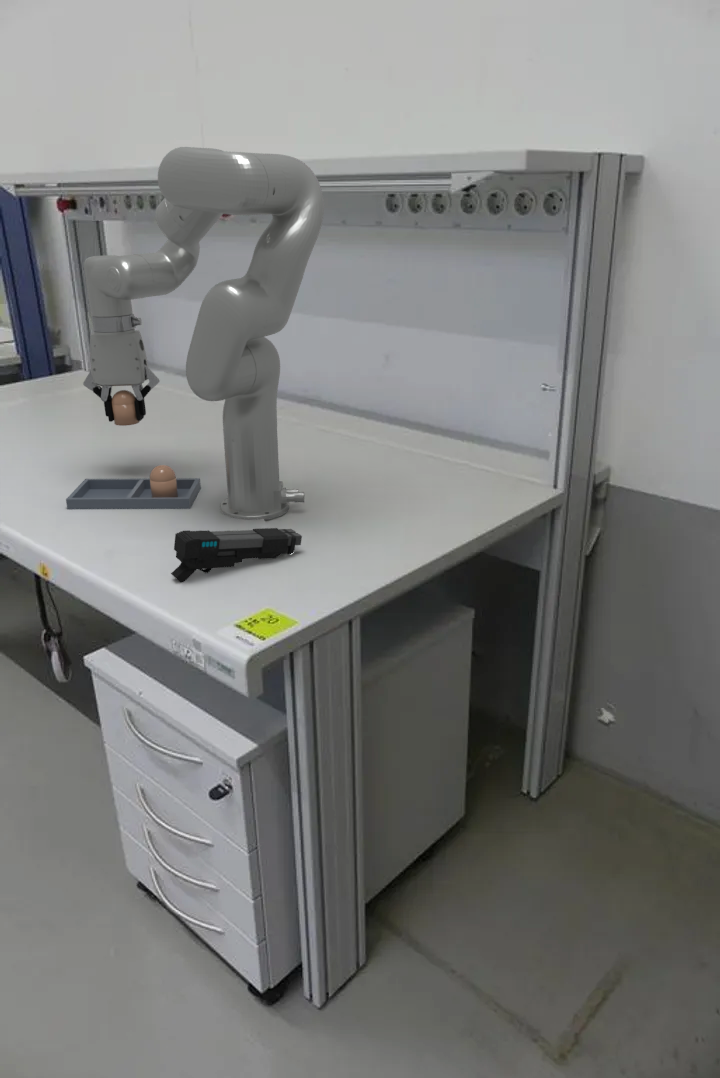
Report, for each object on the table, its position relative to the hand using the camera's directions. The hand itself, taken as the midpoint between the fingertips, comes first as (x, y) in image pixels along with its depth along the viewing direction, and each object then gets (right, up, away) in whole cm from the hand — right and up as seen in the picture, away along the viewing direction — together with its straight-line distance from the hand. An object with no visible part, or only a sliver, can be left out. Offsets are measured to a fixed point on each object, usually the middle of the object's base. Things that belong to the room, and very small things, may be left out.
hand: (126, 418), depth 159 cm
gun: (+27, -28, -32) cm, 50 cm away
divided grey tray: (+4, -16, -6) cm, 18 cm away
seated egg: (+9, -16, -6) cm, 19 cm away
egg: (0, -1, 0) cm, 1 cm away
